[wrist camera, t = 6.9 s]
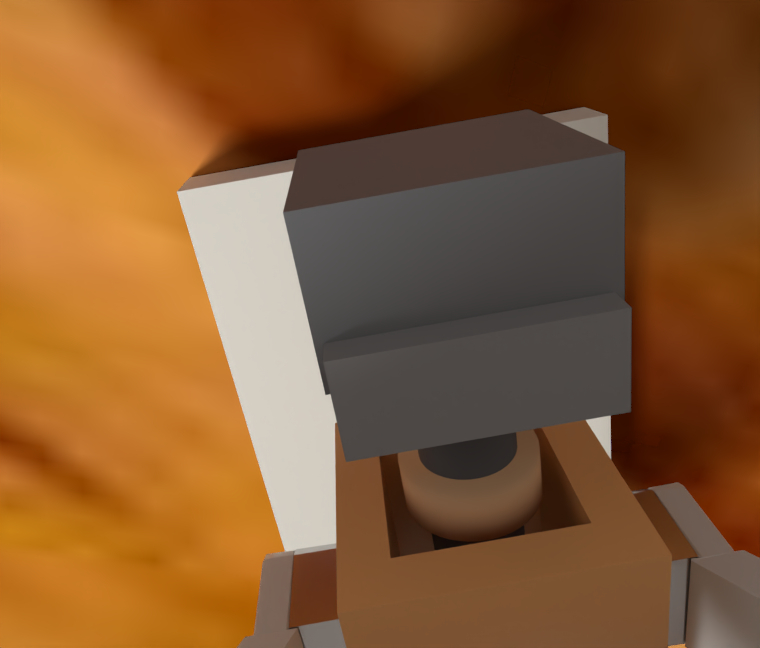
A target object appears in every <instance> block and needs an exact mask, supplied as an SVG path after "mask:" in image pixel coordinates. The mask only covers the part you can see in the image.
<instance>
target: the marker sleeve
mask: <svg viewBox="0 0 760 648" xmlns="http://www.w3.org/2000/svg"><path fill="white" fill-rule="evenodd" d="M533 430H534V432H535V433H536V435H537V438H538V440H539V446H540V461H541V476H542V491H543V492H542V500H541V504H540V506H539V508H538V510H537V512H536V513H535V515H534V516H533V517H532V518H531V519H530V520H529V521H528V522H527V523H526V524H525V525H524V529H525V535H521V536H515V537H509V538H504V539H498V540H492V541H487V542H481V543H475V544H469V545H464V546H458V547H452V548H447V549H441V550H434V544H433V538H432V533H430V532H429V531H427V530H425V529H424V528H422V527H421V526H420V525H419V524H418V523H417V522H416V521H415V520H414V519H413V518H412V516H411V515H410V513H409V511H408V508H407V505H406V500H405V494H404V489H403V484H402V478H401V473H400V467H399V462H398V453H395V454H389V455H384V456H378V457H372V458H367V459H361V460H355V461H349V462H346V460H345V456H344V451H343V447H342V443H341V438H340V434H339V429H338V425H337V423H335V475H336V562H337V615H338V618H339V622H340V626H341V629H342V633H343V637H344V641H345V644H346V648H668V632H669V609H670V587H671V564H672V554H671V552H670V551H669V549H668V548H667V546H666V545H665V543H664V541H663V540H662V538H661V537H660V535H659V534H658V532H657V531H656V529H655V527H654V526H653V524H652V523H651V521H650V520H649V518H648V516H647V515H646V513H645V512H644V510H643V509H642V507H641V506H640V504H639V502H638V501H637V499H636V498H635V496H634V495H633V493H632V492H631V490H630V488H629V487H628V485H627V484H626V482H625V481H624V479H623V478H622V476H621V474H620V473H619V471H618V470H617V468H616V467H615V465H614V463H613V462H612V460H611V459H610V457H609V456H608V454H607V453H606V451H605V449H604V448H603V446H602V445H601V443H600V442H599V440H598V439H597V437H596V435H595V434H594V432H593V431H592V429H591V428H590V426H589V425H588V423H587V421H586V420H582V421H577V422H571V423H565V424H560V425H554V426H548V427H543V428H537V429H533Z"/></svg>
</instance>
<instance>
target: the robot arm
mask: <svg viewBox="0 0 760 648" xmlns="http://www.w3.org/2000/svg"><path fill="white" fill-rule="evenodd" d="M631 492H632V493H633V495H634V496H635V498H636V499H637V501H638V502H639V504H640V506H641V507H642V509H643V510H644V512H645V513H646V515H647V516H648V518H649V520H650V521H651V523H652V524H653V526H654V527H655V529H656V531H657V532H658V534H659V535H660V537H661V538H662V540H663V541H664V543H665V545H666V546H667V548H668V549H669V551H670V552H671V554H672V564H671V587H670V609H669V632H668V646H671V645H678V644H685V646H686V647H687V648H760V558H758V557H756V556H754V555H752V554H750V553H748V552H746V551H744V550H742V551H735V552H734V550H733V549H732V548H731V546H730V545H729V544H728V543H727V541H726V540H725V539H724V537H723V536H722V535H721V533H720V532H719V531H718V530H717V528H716V527H715V526H714V524H713V523H712V522H711V521H710V519H709V518H708V517H707V515H706V514H705V513H704V512H703V510H702V509H701V508H700V506H699V505H698V504H697V502H696V501H695V500H694V499H693V497H692V496H691V495H690V493H689V492H688V491H687V490H686V488H685V487H684V486H683V485H681V484H680V483H678V482H677V483H672V484H666V485H661V486H656V487H651V488H648V489H641V490H636V491H631ZM237 648H346V644H345V641H344V637H343V633H342V629H341V626H340V622H339V618H338V615H337V562H336V543H335V544H328V545H321V546H315V547H308V548H301V549H296V550H293V551H286V552H279V553H272V554H266V557H265V559H264V561H263V565H262V573H261V581H260V589H259V597H258V605H257V613H256V621H255V629H254V636H249V637H245V638H244V639H243V640H242V642H241V643H240V644H239V645H238V647H237Z"/></svg>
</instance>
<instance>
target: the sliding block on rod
mask: <svg viewBox="0 0 760 648" xmlns="http://www.w3.org/2000/svg"><path fill="white" fill-rule="evenodd" d="M177 194H178V197H179V200H180V204H181V207H182V210H183V214H184V217H185V220H186V224H187V227H188V230H189V234H190V237H191V240H192V244H193V247H194V250H195V254H196V257H197V260H198V264H199V267H200V270H201V273H202V277H203V280H204V283H205V287H206V290H207V293H208V297H209V300H210V303H211V307H212V310H213V313H214V317H215V320H216V323H217V327H218V330H219V333H220V337H221V340H222V343H223V346H224V350H225V353H226V356H227V360H228V363H229V366H230V370H231V373H232V376H233V380H234V383H235V386H236V390H237V393H238V396H239V400H240V403H241V406H242V410H243V413H244V416H245V420H246V423H247V426H248V429H249V433H250V436H251V439H252V443H253V446H254V449H255V453H256V456H257V459H258V463H259V466H260V469H261V473H262V476H263V479H264V483H265V486H266V489H267V493H268V496H269V499H270V503H271V506H272V509H273V512H274V516H275V519H276V522H277V526H278V529H279V532H280V536H281V539H282V542H283V546H284V549H285V552H286V551H293V550H296V549H301V548H308V547H315V546H321V545H328V544H335V543H336V475H335V423H337V425H338V429H339V434H340V438H341V443H342V447H343V451H344V456H345V460H346V462H349V461H355V460H361V459H367V458H372V457H378V456H384V455H389V454H395V453H398V462H399V467H400V473H401V478H402V484H403V489H404V494H405V500H406V505H407V508H408V511H409V513H410V515H411V516H412V518H413V519H414V520H415V521H416V522H417V523H418V524H419V525H420V526H421V527H422V528H424V529H425V530H427V531H429V532H430V533H432V538H433V544H434V550H441V549H447V548H452V547H458V546H464V545H469V544H475V543H481V542H487V541H492V540H498V539H504V538H509V537H515V536H521V535H525V529H524V525H525V524H526V523H527V522H528V521H529V520H530V519H531V518H532V517H533V516H534V515H535V513H536V512H537V510H538V508H539V506H540V504H541V500H542V492H543V491H542V476H541V461H540V446H539V440H538V438H537V435H536V433H535V432H534V430H533V429H537V428H543V427H548V426H554V425H560V424H565V423H571V422H577V421H582V420H586V421H587V423H588V425H589V426H590V428H591V429H592V431H593V432H594V434H595V435H596V437H597V439H598V440H599V442H600V443H601V445H602V446H603V448H604V449H605V451H606V453H607V454H608V456H609V457H610V459H611V415H616V414H622V413H628V412H631V325H632V308H631V307H630V306H629V305H628V304H627V303H626V302H625V151H623V150H620V149H618V148H616V147H614V146H611V145H609V144H608V115H607V114H604V113H601V112H598V111H595V110H592V109H589V108H586V107H581V108H576V109H570V110H565V111H559V112H553V113H548V114H542V115H541V114H538V113H536V112H534V111H532V110H529V109H527V110H521V111H516V112H510V113H504V114H499V115H493V116H488V117H482V118H477V119H471V120H465V121H460V122H454V123H449V124H443V125H437V126H432V127H426V128H421V129H415V130H409V131H404V132H398V133H393V134H387V135H382V136H376V137H370V138H365V139H359V140H354V141H348V142H342V143H337V144H331V145H326V146H320V147H314V148H309V149H303V150H298V154H297V158H296V159H291V160H285V161H279V162H274V163H268V164H263V165H257V166H252V167H246V168H240V169H235V170H229V171H224V172H218V173H212V174H207V175H201V176H196V177H190V178H189V179H188V180H187V181H186V182H185V183H184V184H183V186H182V187H181V188H180V189H179V190H178V191H177Z"/></svg>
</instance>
